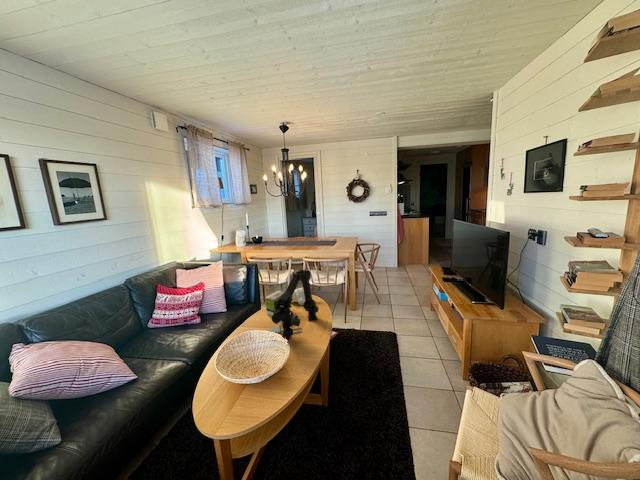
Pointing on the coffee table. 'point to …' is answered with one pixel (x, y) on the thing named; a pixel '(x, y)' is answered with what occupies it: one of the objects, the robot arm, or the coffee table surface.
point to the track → (293, 332)
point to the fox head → (299, 296)
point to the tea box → (272, 302)
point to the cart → (276, 329)
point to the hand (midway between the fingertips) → (288, 338)
